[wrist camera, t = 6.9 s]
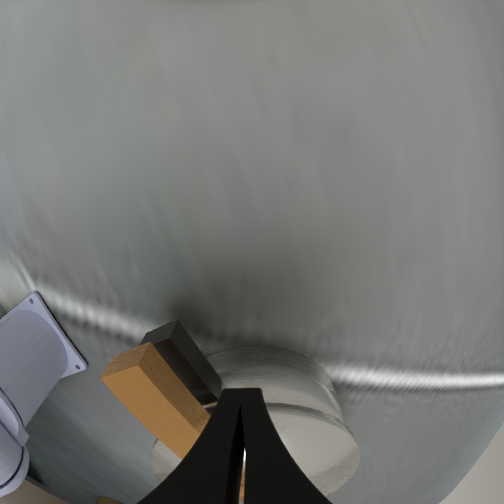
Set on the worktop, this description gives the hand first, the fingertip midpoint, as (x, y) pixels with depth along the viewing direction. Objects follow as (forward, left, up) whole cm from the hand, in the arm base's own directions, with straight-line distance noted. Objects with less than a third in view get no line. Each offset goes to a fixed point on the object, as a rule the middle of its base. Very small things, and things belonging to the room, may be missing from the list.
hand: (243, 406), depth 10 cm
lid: (-5, -7, -4) cm, 10 cm away
